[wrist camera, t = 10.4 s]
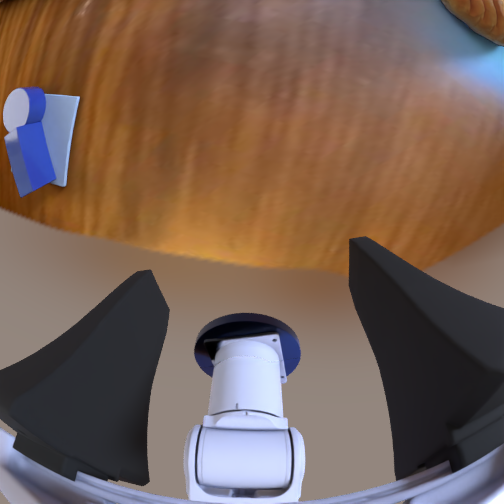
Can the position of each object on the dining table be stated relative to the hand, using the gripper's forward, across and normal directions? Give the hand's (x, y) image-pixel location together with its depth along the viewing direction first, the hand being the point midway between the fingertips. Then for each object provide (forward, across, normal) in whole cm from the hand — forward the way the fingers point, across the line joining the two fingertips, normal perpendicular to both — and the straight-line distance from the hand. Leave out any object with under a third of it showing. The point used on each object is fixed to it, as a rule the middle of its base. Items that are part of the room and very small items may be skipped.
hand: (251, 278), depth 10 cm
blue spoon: (+9, +15, -9) cm, 20 cm away
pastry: (+10, -22, -15) cm, 28 cm away
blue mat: (+10, +15, -9) cm, 20 cm away
